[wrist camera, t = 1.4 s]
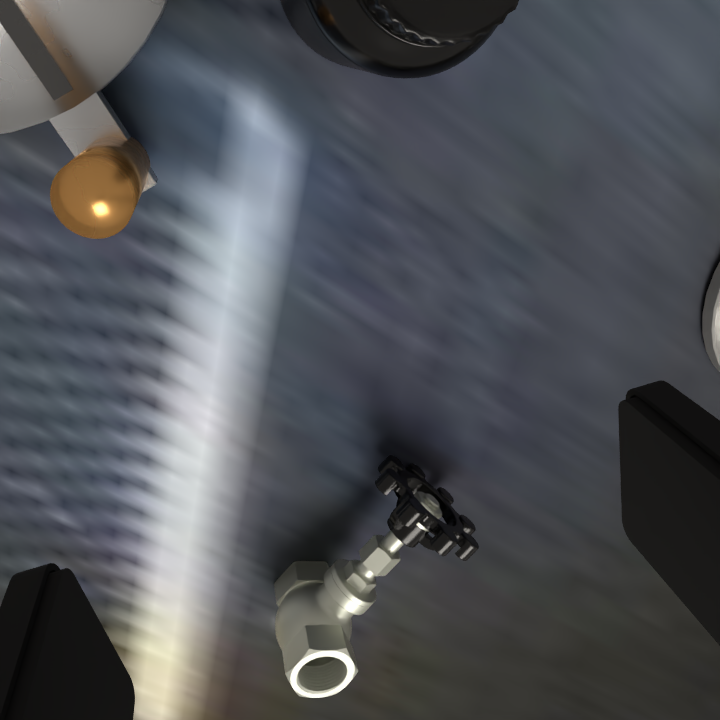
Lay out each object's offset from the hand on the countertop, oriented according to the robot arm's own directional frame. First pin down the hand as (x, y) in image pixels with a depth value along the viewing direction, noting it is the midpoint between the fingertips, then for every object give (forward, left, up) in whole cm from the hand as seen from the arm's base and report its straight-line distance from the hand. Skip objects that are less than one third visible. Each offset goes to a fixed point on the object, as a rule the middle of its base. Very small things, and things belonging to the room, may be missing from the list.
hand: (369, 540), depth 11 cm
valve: (+5, +18, -22) cm, 29 cm away
